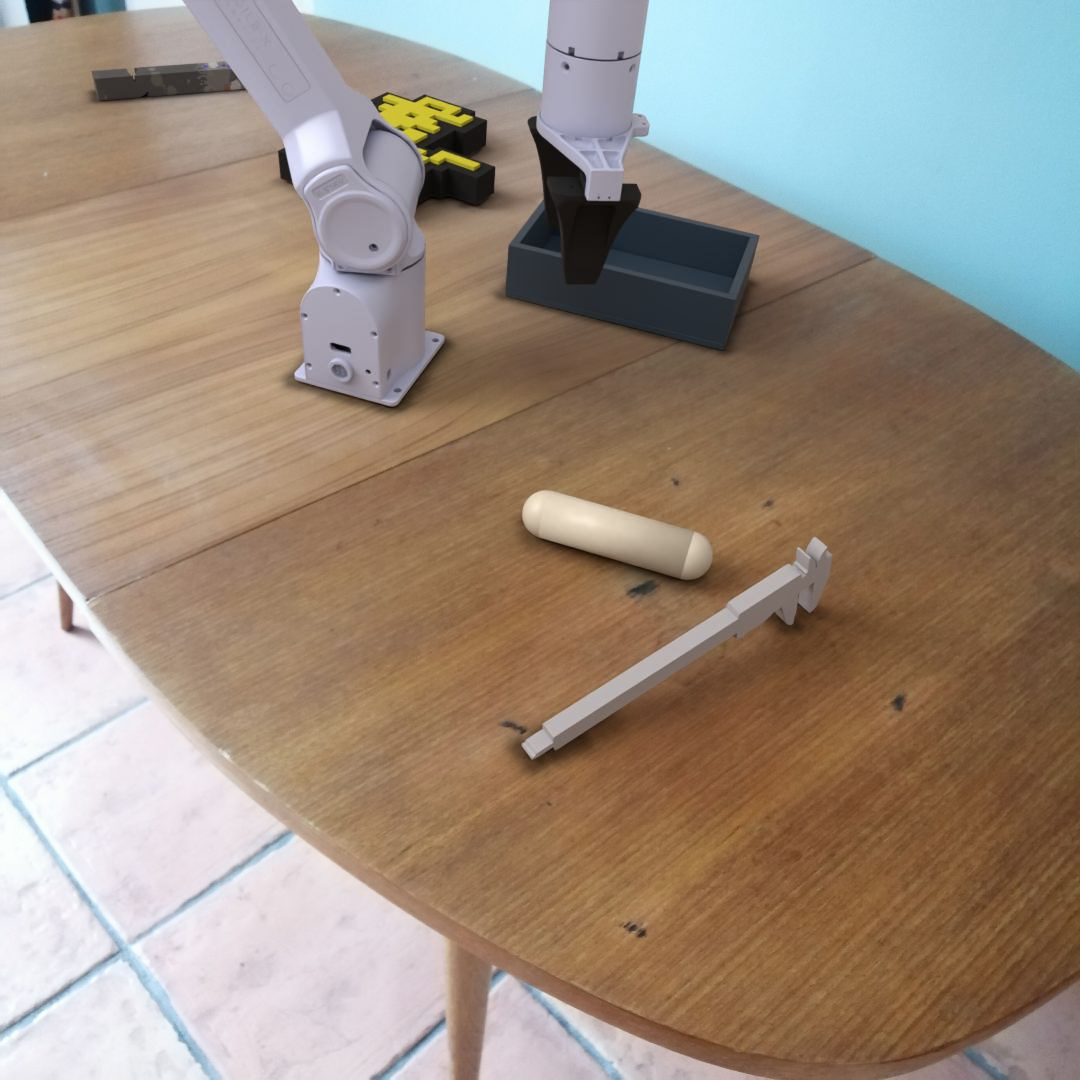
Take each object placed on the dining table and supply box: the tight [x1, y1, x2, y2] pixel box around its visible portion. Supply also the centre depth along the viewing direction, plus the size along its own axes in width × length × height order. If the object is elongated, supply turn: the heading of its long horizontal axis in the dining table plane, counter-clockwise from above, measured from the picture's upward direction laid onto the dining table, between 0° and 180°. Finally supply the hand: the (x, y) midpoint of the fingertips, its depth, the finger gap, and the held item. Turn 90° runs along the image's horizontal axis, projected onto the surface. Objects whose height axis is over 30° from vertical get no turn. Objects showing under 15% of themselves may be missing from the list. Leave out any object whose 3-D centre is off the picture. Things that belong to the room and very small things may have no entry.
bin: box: [504, 198, 760, 351], centre depth 84 cm, size 11×18×5 cm, turn 72°
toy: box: [277, 91, 497, 206], centre depth 97 cm, size 18×3×20 cm
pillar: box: [90, 60, 246, 101], centre depth 107 cm, size 2×2×20 cm
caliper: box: [521, 536, 833, 760], centre depth 54 cm, size 20×1×6 cm, turn 124°
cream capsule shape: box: [521, 489, 714, 581], centre depth 61 cm, size 3×12×3 cm, turn 72°
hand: (570, 252), depth 69 cm, fingers open, 7 cm apart
